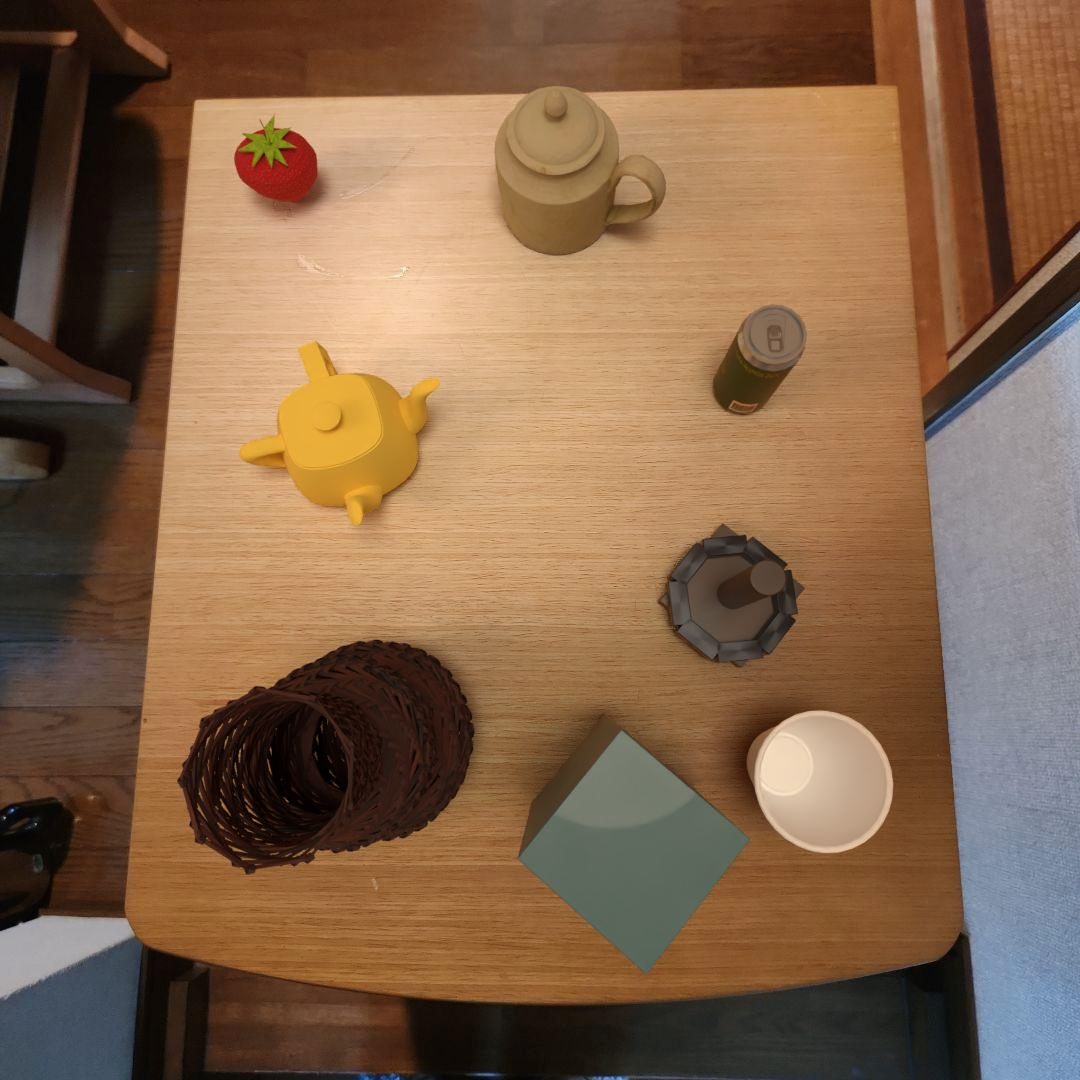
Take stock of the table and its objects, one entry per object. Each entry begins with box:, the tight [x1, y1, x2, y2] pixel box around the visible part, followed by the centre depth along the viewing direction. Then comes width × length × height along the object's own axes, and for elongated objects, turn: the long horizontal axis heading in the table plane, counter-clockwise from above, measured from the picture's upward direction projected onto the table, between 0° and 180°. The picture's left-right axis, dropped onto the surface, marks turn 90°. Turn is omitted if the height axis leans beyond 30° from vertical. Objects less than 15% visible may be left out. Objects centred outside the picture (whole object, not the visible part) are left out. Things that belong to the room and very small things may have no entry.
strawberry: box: [233, 114, 319, 203], centre depth 72 cm, size 6×8×10 cm
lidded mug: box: [494, 85, 667, 256], centre depth 69 cm, size 15×11×15 cm
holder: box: [657, 523, 806, 669], centre depth 62 cm, size 9×9×14 cm
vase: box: [176, 639, 475, 875], centre depth 53 cm, size 15×15×30 cm
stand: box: [517, 713, 751, 975], centre depth 57 cm, size 10×10×20 cm
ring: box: [665, 534, 799, 664], centre depth 67 cm, size 11×11×2 cm
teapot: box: [238, 340, 441, 526], centre depth 68 cm, size 14×13×10 cm
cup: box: [746, 710, 894, 854], centre depth 61 cm, size 10×10×11 cm
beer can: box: [712, 303, 808, 415], centre depth 66 cm, size 5×5×12 cm
